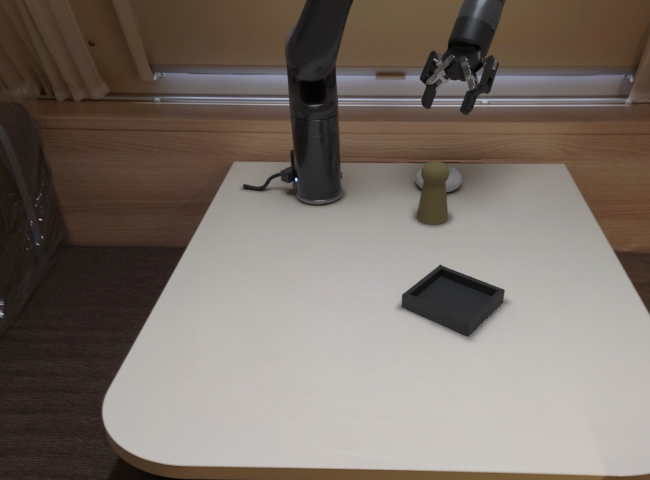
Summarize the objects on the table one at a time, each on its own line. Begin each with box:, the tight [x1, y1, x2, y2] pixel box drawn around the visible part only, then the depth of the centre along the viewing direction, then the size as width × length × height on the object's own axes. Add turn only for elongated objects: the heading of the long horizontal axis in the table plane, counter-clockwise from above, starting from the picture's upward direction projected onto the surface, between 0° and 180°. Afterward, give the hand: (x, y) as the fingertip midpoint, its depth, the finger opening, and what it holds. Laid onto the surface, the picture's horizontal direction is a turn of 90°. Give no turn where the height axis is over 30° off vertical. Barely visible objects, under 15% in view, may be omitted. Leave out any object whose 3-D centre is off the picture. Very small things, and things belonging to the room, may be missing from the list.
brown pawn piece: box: [416, 160, 449, 226], centre depth 108 cm, size 6×6×11 cm
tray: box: [401, 264, 506, 337], centre depth 87 cm, size 12×11×2 cm
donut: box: [414, 165, 463, 193], centre depth 122 cm, size 10×4×10 cm
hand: (444, 110), depth 105 cm, fingers open, 8 cm apart
